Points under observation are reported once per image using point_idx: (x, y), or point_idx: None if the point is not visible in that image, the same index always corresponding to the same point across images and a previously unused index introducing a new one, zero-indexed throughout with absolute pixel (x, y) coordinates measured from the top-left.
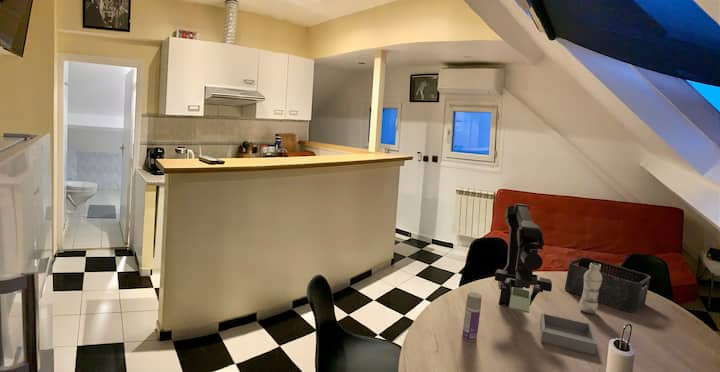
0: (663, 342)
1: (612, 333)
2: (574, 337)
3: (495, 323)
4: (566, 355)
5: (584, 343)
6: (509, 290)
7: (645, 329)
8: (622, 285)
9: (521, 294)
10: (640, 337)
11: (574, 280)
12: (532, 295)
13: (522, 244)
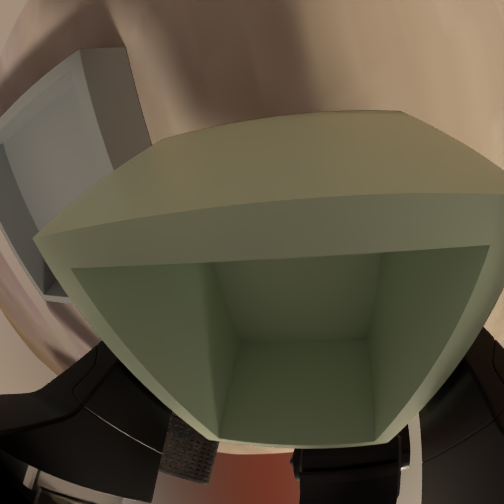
0: (19, 309)
1: (54, 306)
2: (56, 211)
3: (419, 111)
4: (39, 44)
5: None
6: (488, 377)
7: (54, 343)
8: None
9: (290, 395)
10: (34, 312)
11: (195, 449)
12: (101, 373)
13: None
